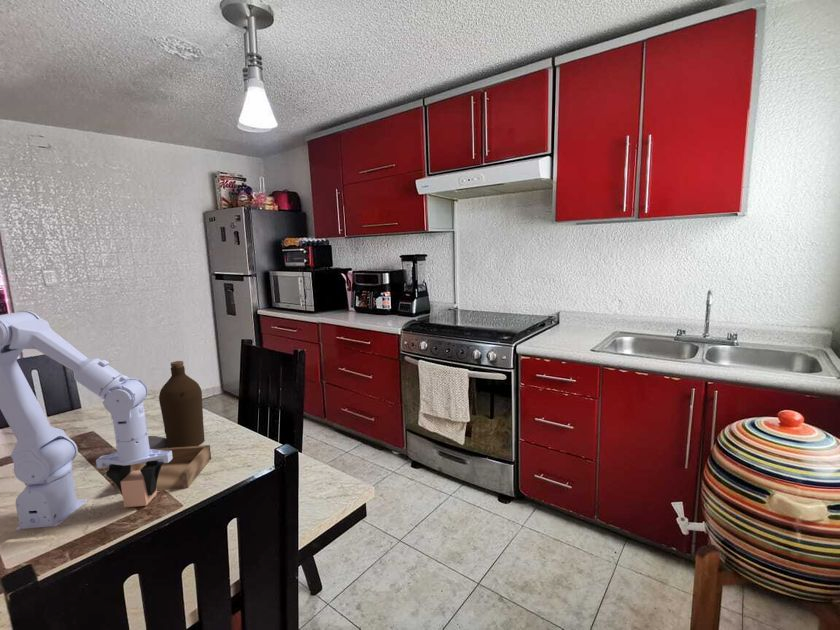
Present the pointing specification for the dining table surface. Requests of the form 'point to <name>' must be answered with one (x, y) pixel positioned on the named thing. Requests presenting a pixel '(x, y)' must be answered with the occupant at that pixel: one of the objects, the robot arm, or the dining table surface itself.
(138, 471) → the block
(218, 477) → the dining table surface
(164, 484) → the box
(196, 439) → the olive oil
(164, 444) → the stone block
